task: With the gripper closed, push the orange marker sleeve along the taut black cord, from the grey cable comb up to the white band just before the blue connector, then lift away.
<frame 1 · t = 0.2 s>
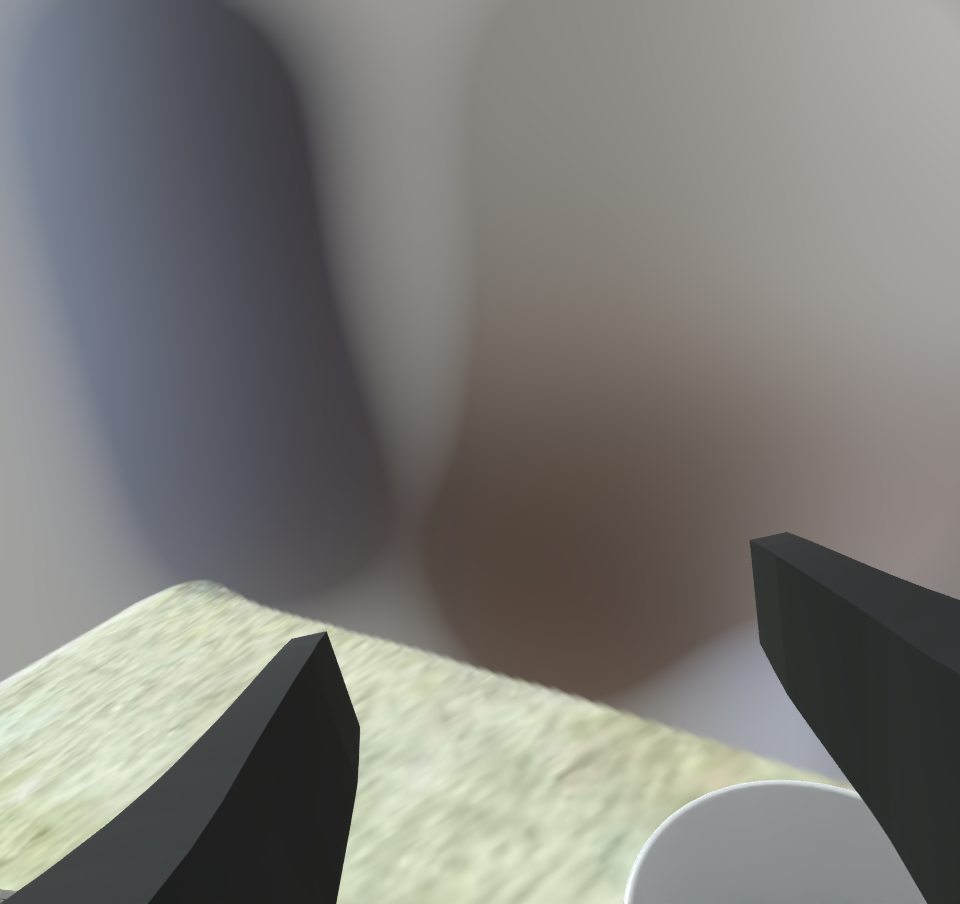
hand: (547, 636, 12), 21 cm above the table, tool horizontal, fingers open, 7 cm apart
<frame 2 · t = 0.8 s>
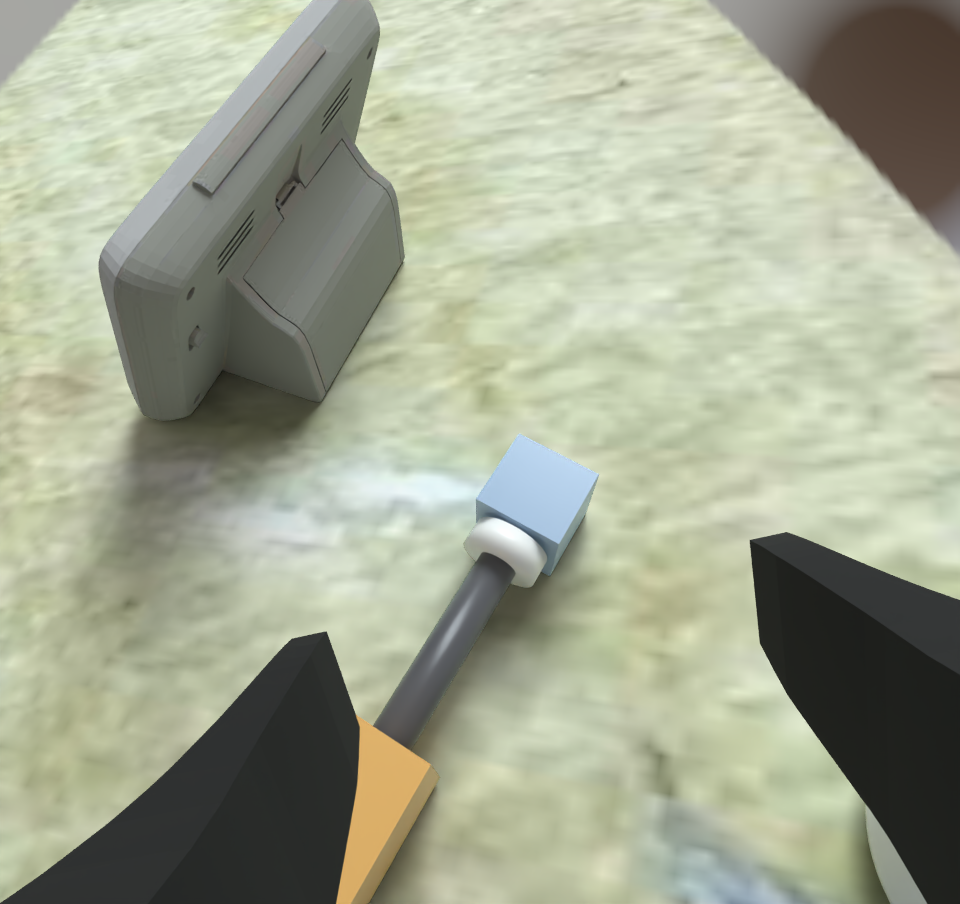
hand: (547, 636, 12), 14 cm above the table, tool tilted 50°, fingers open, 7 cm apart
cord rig: (419, 709, 24), on the table
sleeve: (347, 802, 21), point 3 cm above the table, slide at 0.0 cm
digital clock: (286, 304, 33), on the table
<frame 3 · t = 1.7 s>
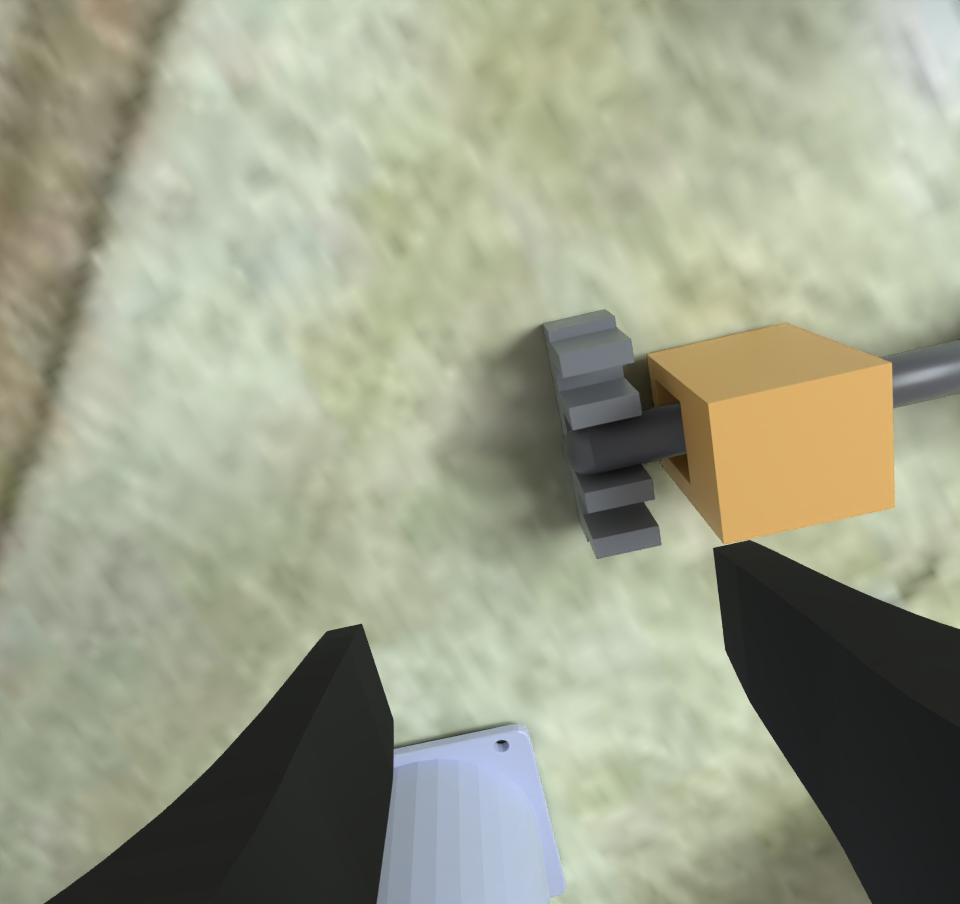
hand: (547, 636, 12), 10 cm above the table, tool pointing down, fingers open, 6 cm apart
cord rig: (835, 368, 21), on the table
sleeve: (758, 423, 18), point 3 cm above the table, slide at 0.0 cm
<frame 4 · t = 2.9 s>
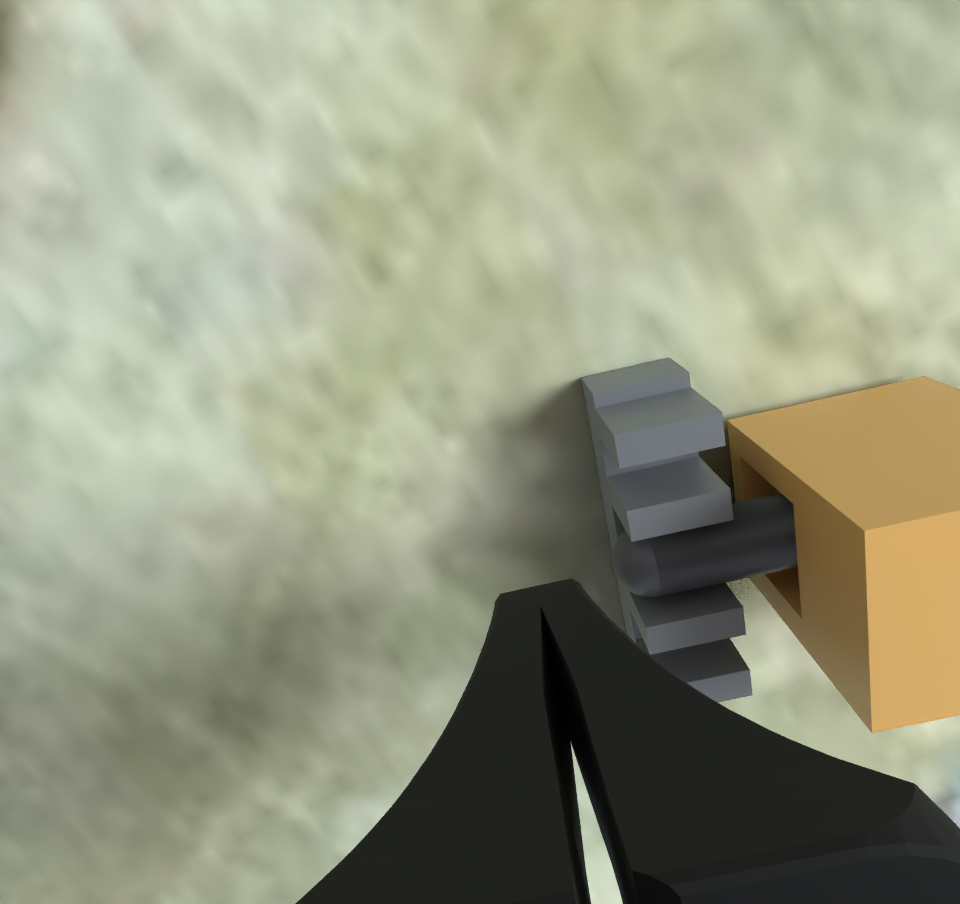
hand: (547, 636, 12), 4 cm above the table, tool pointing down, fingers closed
sleeve: (901, 530, 13), point 3 cm above the table, slide at 0.0 cm
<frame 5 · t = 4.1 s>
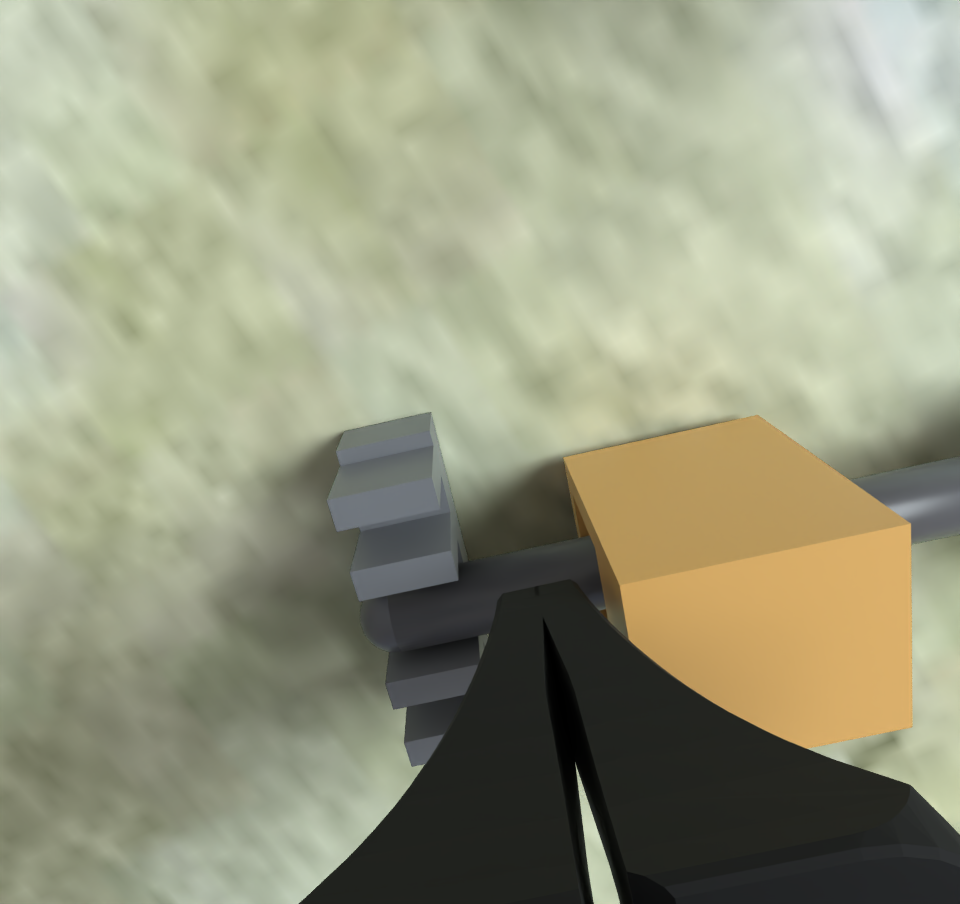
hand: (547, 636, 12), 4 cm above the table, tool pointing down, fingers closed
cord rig: (755, 487, 15), on the table
sleeve: (712, 572, 13), point 3 cm above the table, slide at 1.5 cm, touching gripper
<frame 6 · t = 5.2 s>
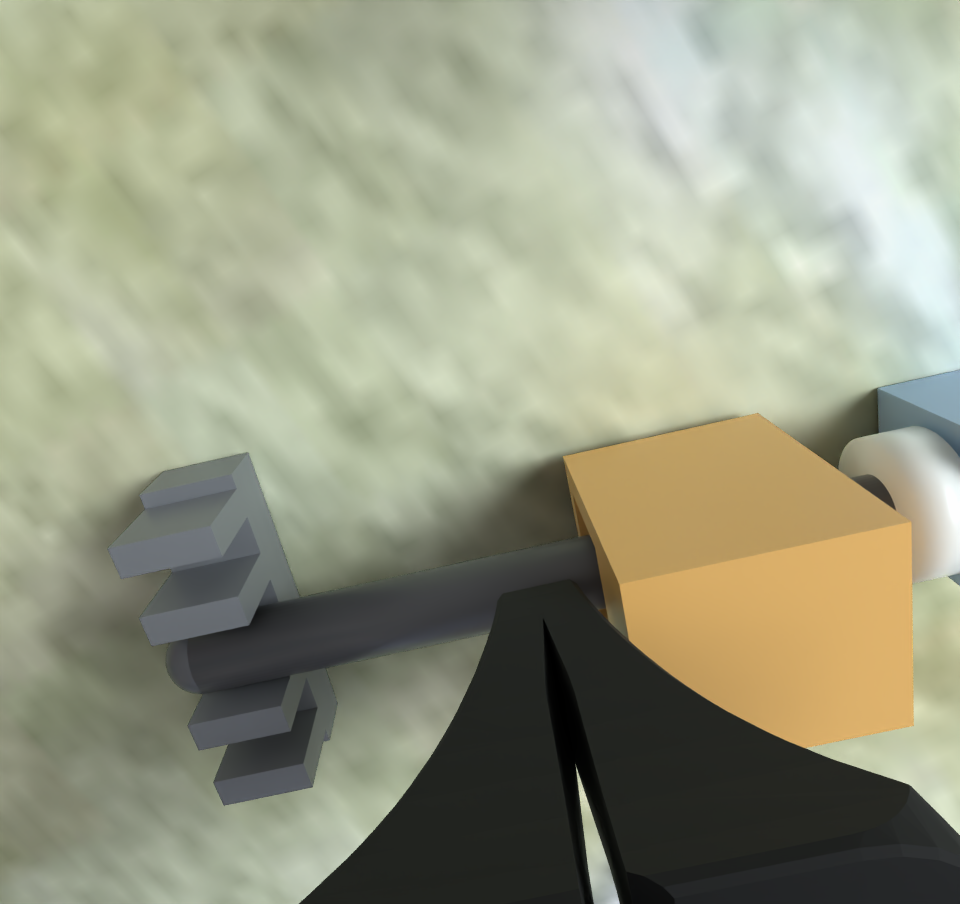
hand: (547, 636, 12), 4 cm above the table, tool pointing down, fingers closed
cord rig: (581, 524, 15), on the table
sleeve: (712, 571, 13), point 3 cm above the table, slide at 5.3 cm, touching gripper
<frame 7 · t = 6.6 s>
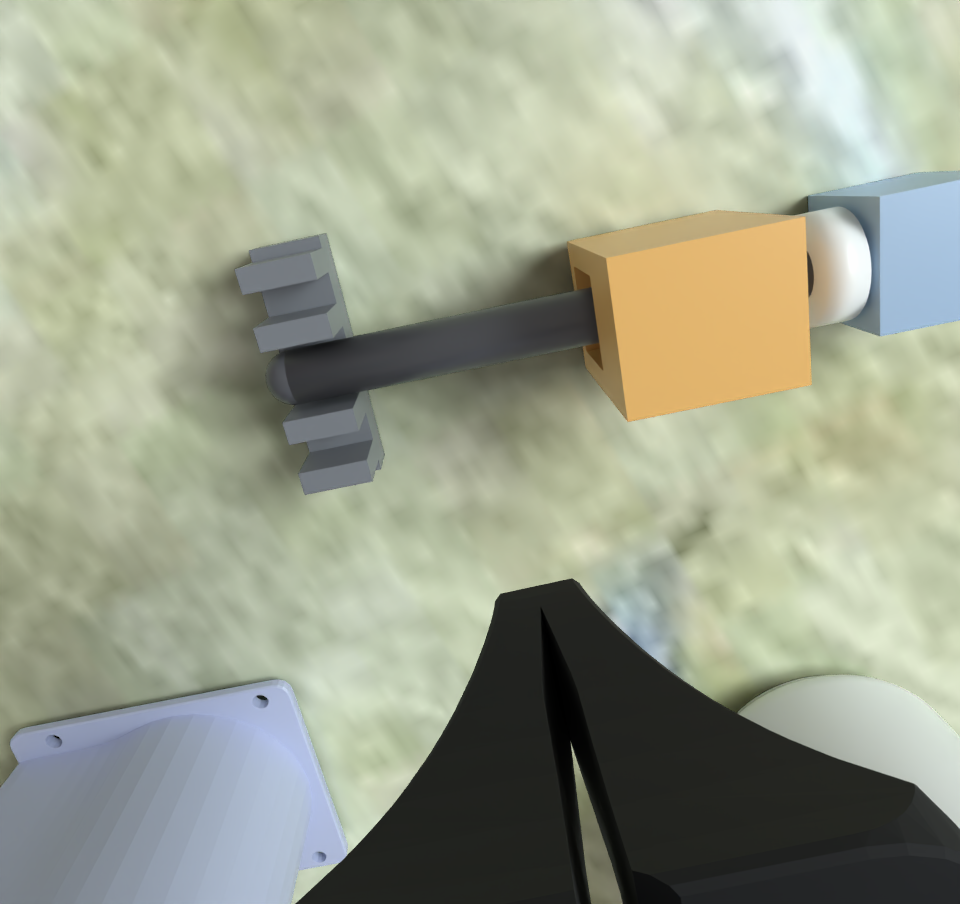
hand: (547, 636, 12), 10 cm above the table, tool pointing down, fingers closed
mug: (833, 773, 26), on the table
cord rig: (579, 303, 20), on the table
sleeve: (676, 305, 17), point 3 cm above the table, slide at 5.3 cm
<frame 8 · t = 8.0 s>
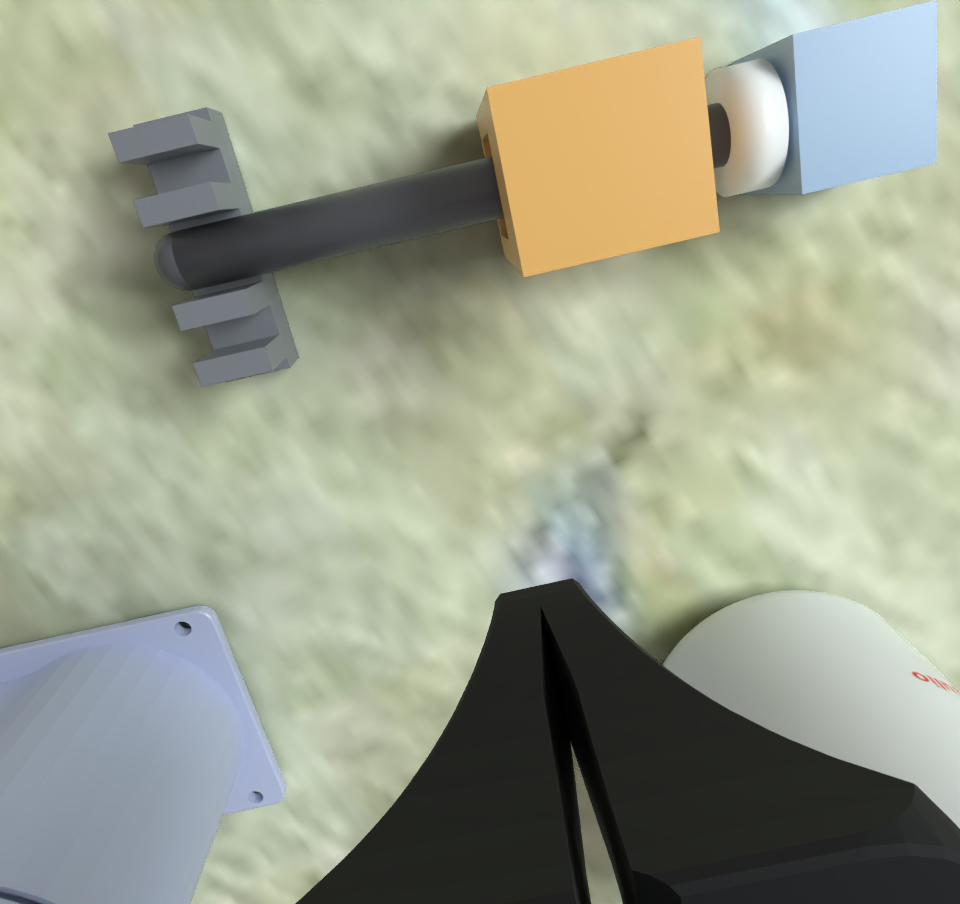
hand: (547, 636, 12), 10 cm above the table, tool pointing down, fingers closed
mug: (792, 702, 25), on the table
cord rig: (495, 187, 19), on the table
sleeve: (584, 167, 16), point 3 cm above the table, slide at 5.3 cm
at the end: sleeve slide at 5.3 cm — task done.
